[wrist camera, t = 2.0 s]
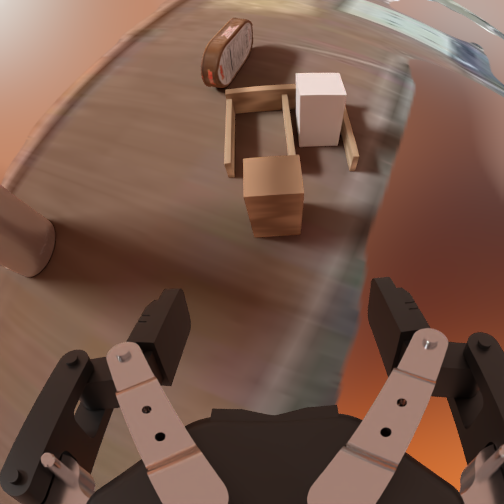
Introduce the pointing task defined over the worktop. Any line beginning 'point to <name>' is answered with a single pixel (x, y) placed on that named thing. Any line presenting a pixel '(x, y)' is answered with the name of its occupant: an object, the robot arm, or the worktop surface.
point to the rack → (268, 101)
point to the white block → (319, 108)
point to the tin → (227, 53)
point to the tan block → (274, 194)
